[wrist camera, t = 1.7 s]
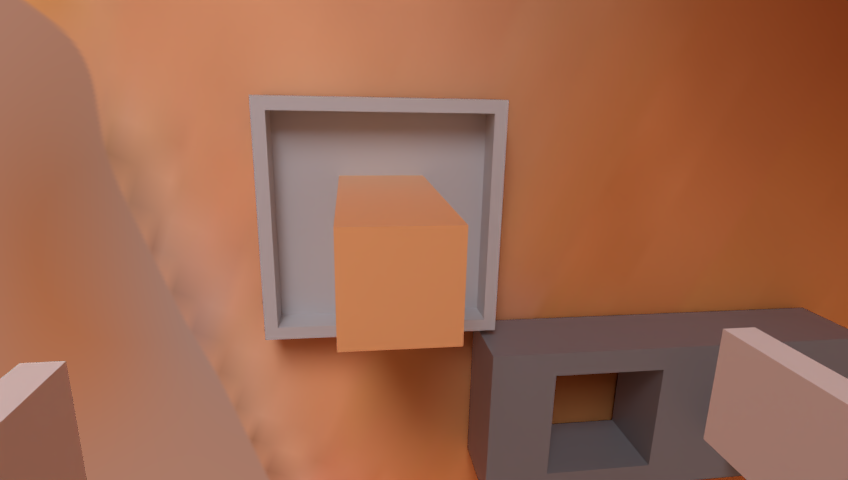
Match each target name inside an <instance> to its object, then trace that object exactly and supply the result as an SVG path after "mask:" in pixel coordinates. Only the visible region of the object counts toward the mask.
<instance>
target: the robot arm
mask: <svg viewBox="0 0 848 480" xmlns="http://www.w3.org/2000/svg"><path fill="white" fill-rule="evenodd" d="M703 439H704V440H705V441H706V442H707V443H708V444H709V445H710V446H711V447H712V448H713V449H715V450H716V451H717V452H718V453H719V454H720V455H721V456H722V457H723V458H724V459H725V460H726V461H727V462H728V463H729V464H730V465H731V466H732V467H734V468H735V469H736V470H737V471H738V472H739V473H740V474H741V475H742V476H743V477H744V478H745V479H746V480H848V379H847V378H845V377H843V376H842V375H840V374H838V373H836V372H834V371H833V370H831V369H829V368H827V367H825V366H824V365H822V364H820V363H818V362H816V361H815V360H813V359H811V358H809V357H807V356H806V355H804V354H802V353H800V352H798V351H797V350H795V349H793V348H791V347H789V346H788V345H786V344H784V343H782V342H780V341H779V340H777V339H775V338H773V337H771V336H770V335H768V334H766V333H764V332H762V331H761V330H759V329H757V328H755V327H749V328H728V329H723V332H722V337H721V343H720V349H719V354H718V360H717V365H716V371H715V377H714V382H713V388H712V393H711V399H710V404H709V410H708V416H707V421H706V427H705V432H704V438H703ZM0 480H87V478H86V473H85V467H84V461H83V456H82V450H81V444H80V439H79V433H78V427H77V421H76V416H75V410H74V404H73V398H72V393H71V387H70V382H69V376H68V370H67V365H66V361H59V362H58V361H57V362H38V363H37V362H36V363H19V364H18V365H17V366H16V367H14V368H13V369H12V370H11V371H9V372H8V373H7V374H6V375H5V376H3V377H2V378H1V379H0Z"/></svg>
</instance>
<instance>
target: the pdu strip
mask: <svg viewBox="0 0 848 480" xmlns="http://www.w3.org/2000/svg"><path fill="white" fill-rule="evenodd" d="M749 327H755V328H757V329H759V330H761V331H762V332H764V333H766V334H768V335H770V336H771V337H773V338H775V339H777V340H779V341H780V342H782V343H784V344H786V345H788V346H789V347H791V348H793V349H795V350H797V351H798V352H800V353H802V354H804V355H806V356H807V357H809V358H811V359H813V360H815V361H816V362H818V363H820V364H822V365H824V366H825V367H827V368H829V369H831V370H833V371H834V372H836V373H838V374H840V375H842V376H843V377H845V378H847V379H848V329H847V328H845V327H842V326H840V325H838V324H836V323H834V322H832V321H830V320H828V319H825V318H823V317H821V316H819V315H817V314H815V313H813V312H811V311H808V310H806V309H804V308H783V309H759V310H735V311H710V312H686V313H662V314H638V315H613V316H589V317H565V318H541V319H516V320H495V330H483V331H473V347H472V368H471V389H470V409H469V430H468V451H469V454H470V456H471V459H472V462H473V465H474V468H475V471H476V474H477V477H478V480H699V479H711V478H722V477H733V476H742V475H741V474H740V473H739V472H738V471H737V470H736V469H735V468H734V467H732V466H731V465H730V464H729V463H728V462H727V461H726V460H725V459H724V458H723V457H722V456H721V455H720V454H719V453H718V452H717V451H716V450H715V449H713V448H712V447H711V446H710V445H709V444H708V443H707V442H706V441H705V440H704V439H703V438H704V432H705V427H706V421H707V416H708V410H709V404H710V399H711V393H712V388H713V382H714V377H715V371H716V365H717V360H718V354H719V349H720V343H721V337H722V332H723V329H728V328H749ZM617 372H618V379H617V387H616V394H615V402H614V409H613V417H612V420H604V421H590V422H575V423H561V424H552V416H553V406H554V396H555V386H556V376H565V375H582V374H600V373H617Z"/></svg>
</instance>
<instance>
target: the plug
mask: <svg viewBox="0 0 848 480" xmlns="http://www.w3.org/2000/svg"><path fill="white" fill-rule="evenodd" d="M333 232H334V268H335V304H336V340H337V352H356V351H377V350H398V349H419V348H439V347H460V346H463V339H464V316H465V293H466V270H467V247H468V224H467V223H466V222H465V221H464V220H463V219H462V218H461V217H460V216H459V214H458V213H457V212H456V211H455V210H454V209H453V208H452V207H451V206H450V205H449V203H448V202H447V201H446V200H445V199H444V198H443V197H442V196H441V195H440V194H439V193H438V191H437V190H436V189H435V188H434V187H433V186H432V185H431V184H430V183H429V182H428V180H427V179H426V178H425V177H424V176H423V175H366V176H339V180H338V190H337V199H336V208H335V217H334V226H333Z"/></svg>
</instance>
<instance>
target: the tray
mask: <svg viewBox="0 0 848 480" xmlns="http://www.w3.org/2000/svg"><path fill="white" fill-rule="evenodd" d="M249 104H250V119H251V133H252V148H253V163H254V178H255V192H256V207H257V222H258V237H259V251H260V266H261V281H262V295H263V310H264V325H265V340H278V339H301V338H324V337H336V304H335V268H334V232H333V226H334V217H335V208H336V199H337V190H338V180H339V176H366V175H423V176H424V177H425V178H426V179H427V180H428V182H429V183H430V184H431V185H432V186H433V187H434V188H435V189H436V190H437V191H438V193H439V194H440V195H441V196H442V197H443V198H444V199H445V200H446V201H447V202H448V203H449V205H450V206H451V207H452V208H453V209H454V210H455V211H456V212H457V213H458V214H459V216H460V217H461V218H462V219H463V220H464V221H465V222H466V223H467V224H468V247H467V270H466V293H465V316H464V331H483V330H495V320H496V303H497V287H498V270H499V254H500V237H501V221H502V204H503V188H504V172H505V155H506V139H507V122H508V106H509V100H496V99H444V98H392V97H340V96H288V95H249Z"/></svg>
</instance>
